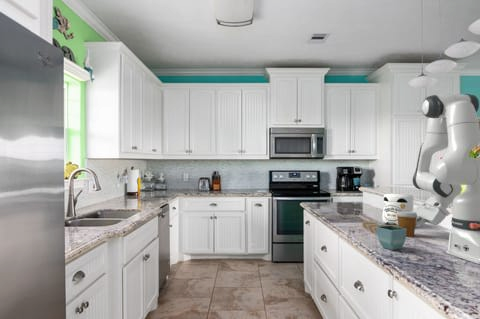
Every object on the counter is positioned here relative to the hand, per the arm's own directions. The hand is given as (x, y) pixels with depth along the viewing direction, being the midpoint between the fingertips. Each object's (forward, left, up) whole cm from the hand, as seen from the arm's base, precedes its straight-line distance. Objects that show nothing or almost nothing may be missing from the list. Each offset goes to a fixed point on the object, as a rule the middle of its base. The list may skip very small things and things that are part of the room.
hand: (415, 225), depth 157 cm
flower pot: (-23, +24, -5) cm, 34 cm away
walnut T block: (+9, +11, -5) cm, 15 cm away
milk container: (+25, -4, -5) cm, 26 cm away
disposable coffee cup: (0, +4, -5) cm, 7 cm away
